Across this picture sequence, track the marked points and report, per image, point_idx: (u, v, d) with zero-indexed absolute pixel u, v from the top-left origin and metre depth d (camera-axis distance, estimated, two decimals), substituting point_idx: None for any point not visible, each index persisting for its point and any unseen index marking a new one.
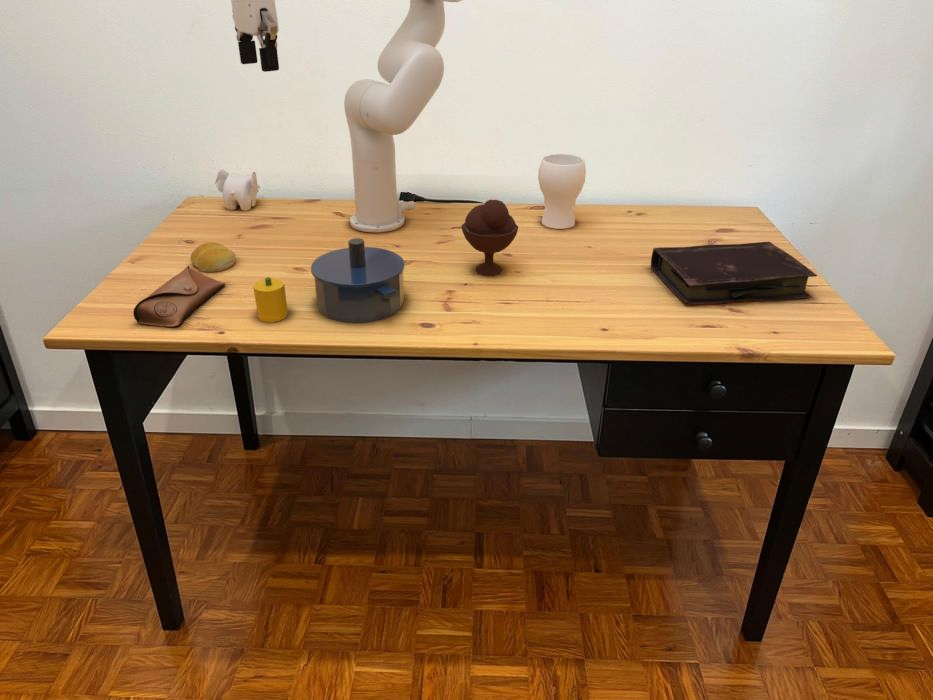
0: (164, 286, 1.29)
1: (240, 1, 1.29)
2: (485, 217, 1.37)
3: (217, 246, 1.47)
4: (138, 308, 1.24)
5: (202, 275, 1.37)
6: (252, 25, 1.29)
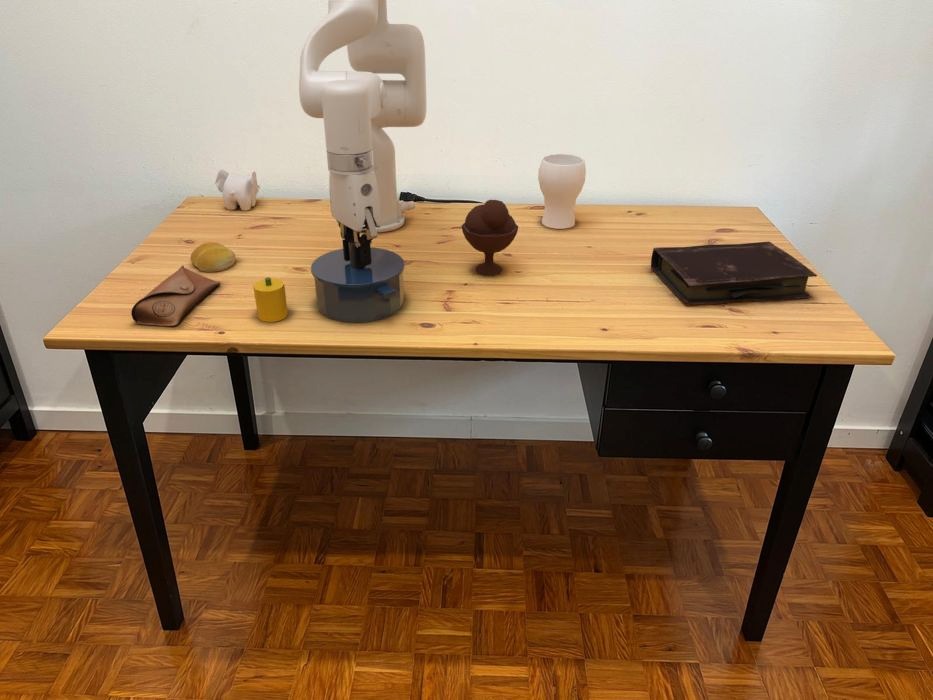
0: (161, 286, 1.29)
1: (342, 197, 1.21)
2: (485, 217, 1.37)
3: (217, 246, 1.47)
4: (136, 308, 1.24)
5: (197, 274, 1.37)
6: (355, 223, 1.21)
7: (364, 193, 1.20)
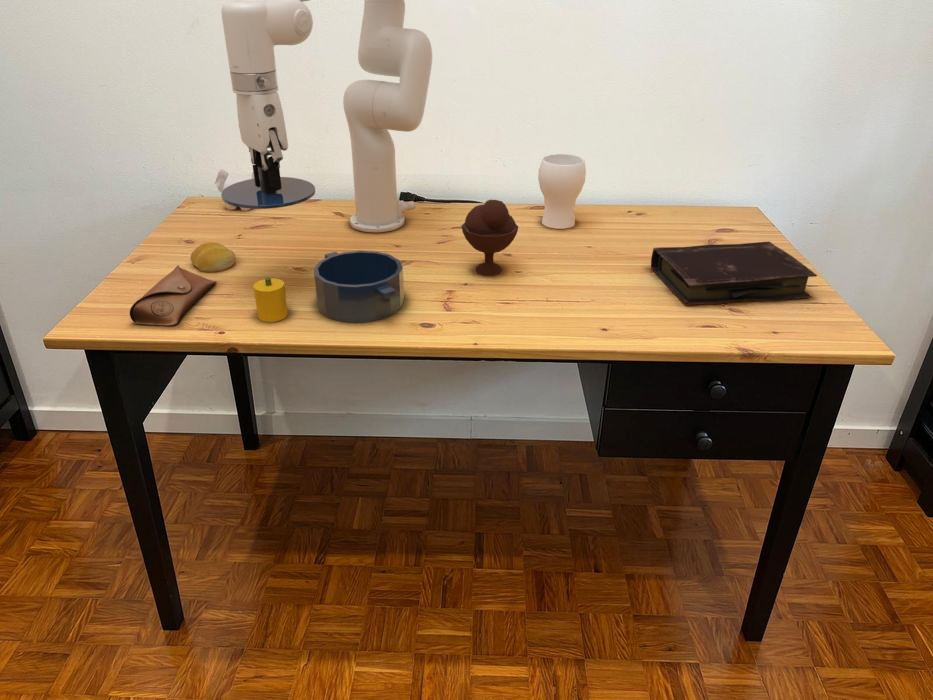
0: (158, 286, 1.29)
1: (248, 119, 1.23)
2: (485, 217, 1.37)
3: (217, 246, 1.47)
4: (135, 308, 1.24)
5: (193, 274, 1.37)
6: (260, 144, 1.23)
7: (268, 114, 1.22)
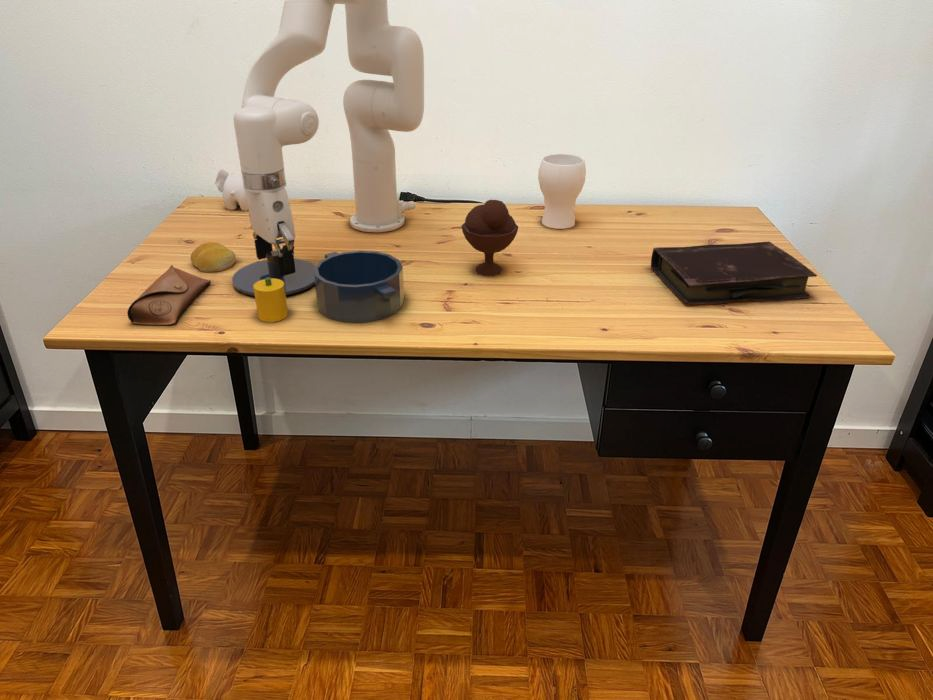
0: (154, 285, 1.29)
1: (258, 213, 1.32)
2: (485, 217, 1.37)
3: (217, 246, 1.47)
4: (132, 309, 1.24)
5: (187, 273, 1.38)
6: (270, 236, 1.32)
7: (277, 209, 1.31)
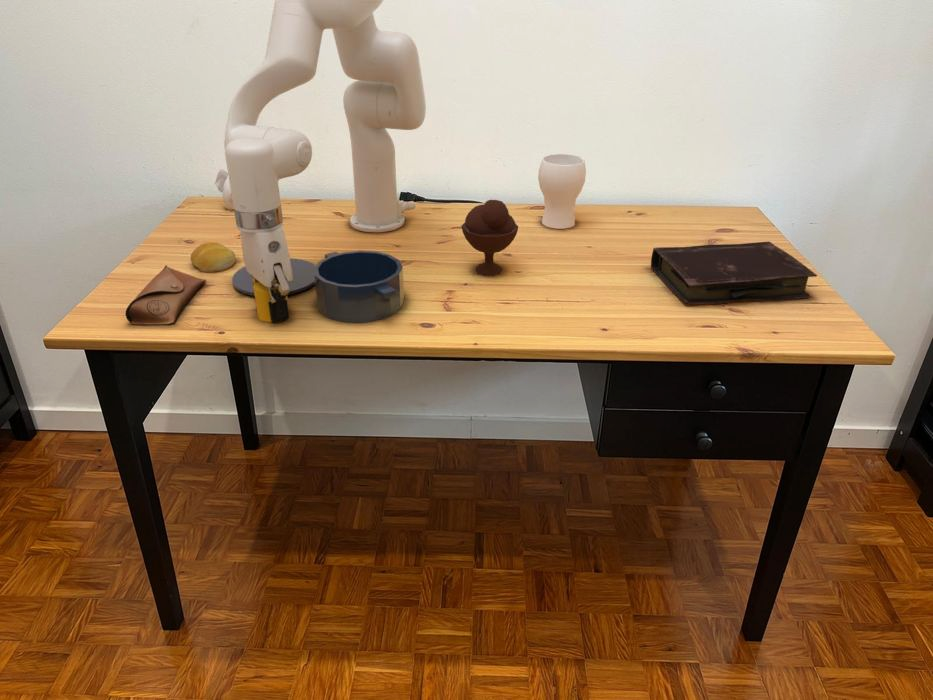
0: (151, 285, 1.29)
1: (252, 253, 1.20)
2: (485, 217, 1.37)
3: (217, 246, 1.47)
4: (131, 309, 1.24)
5: (182, 273, 1.38)
6: (265, 279, 1.20)
7: (273, 250, 1.19)
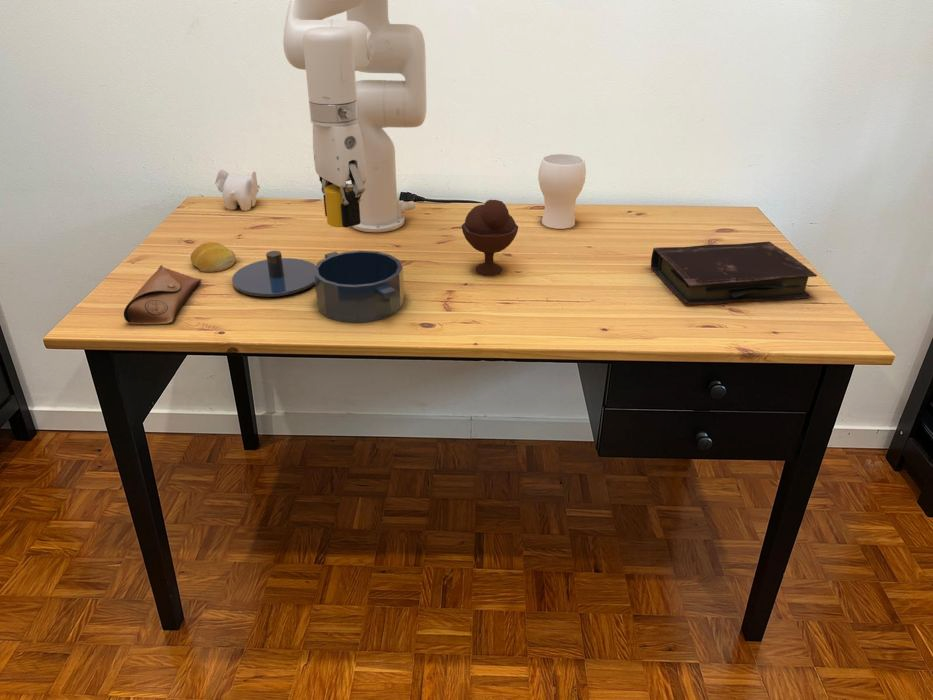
0: (147, 286, 1.29)
1: (326, 151, 1.16)
2: (485, 217, 1.37)
3: (217, 246, 1.47)
4: (129, 309, 1.24)
5: (178, 273, 1.38)
6: (339, 178, 1.16)
7: (348, 146, 1.15)
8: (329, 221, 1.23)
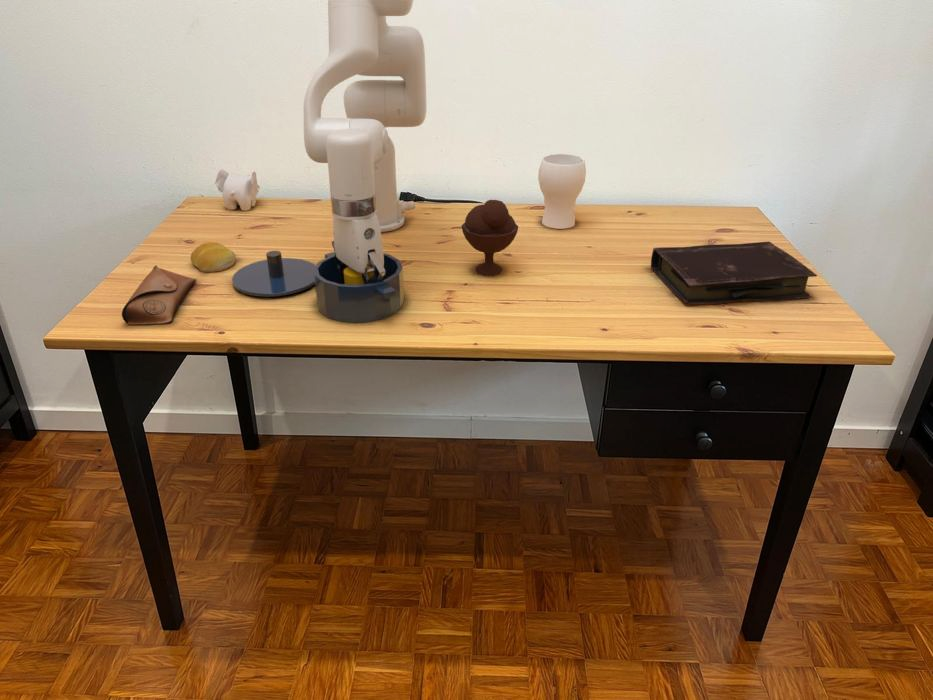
0: (144, 286, 1.29)
1: (346, 240, 1.25)
2: (485, 217, 1.37)
3: (217, 246, 1.47)
4: (127, 309, 1.24)
5: (173, 273, 1.38)
6: (359, 265, 1.25)
7: (367, 237, 1.24)
8: None
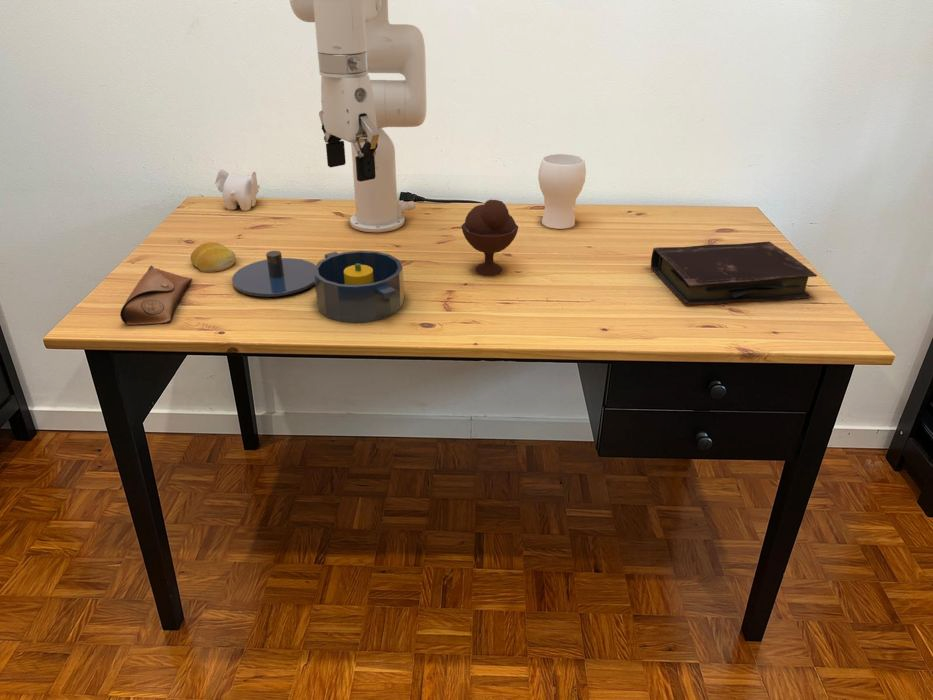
0: (141, 286, 1.29)
1: (335, 105, 1.13)
2: (485, 217, 1.37)
3: (217, 246, 1.47)
4: (126, 309, 1.24)
5: (168, 273, 1.38)
6: (349, 132, 1.13)
7: (358, 99, 1.12)
8: None
